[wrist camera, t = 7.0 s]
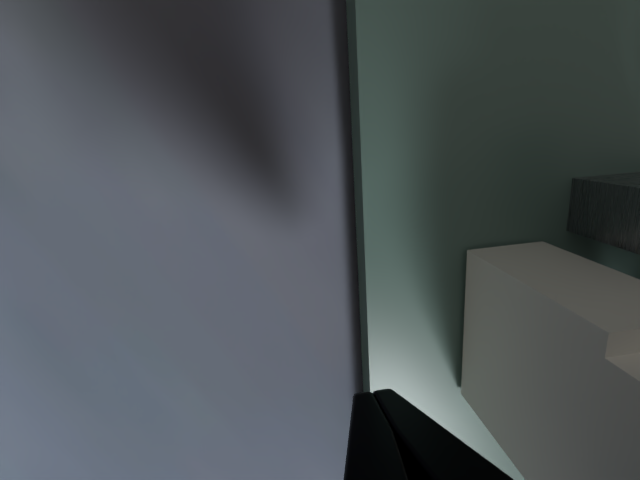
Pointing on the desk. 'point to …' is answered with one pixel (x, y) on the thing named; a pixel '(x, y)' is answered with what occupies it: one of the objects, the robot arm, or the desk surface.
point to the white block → (554, 361)
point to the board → (475, 165)
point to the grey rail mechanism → (607, 209)
